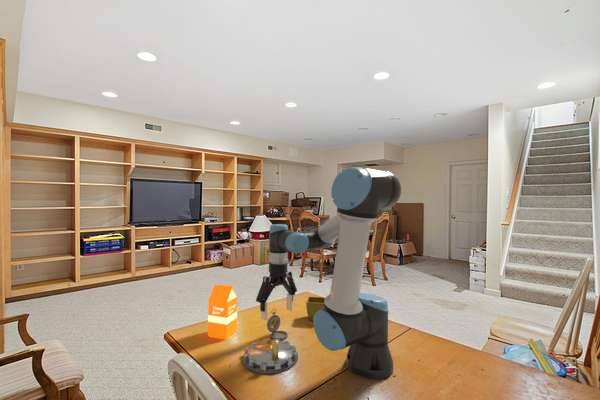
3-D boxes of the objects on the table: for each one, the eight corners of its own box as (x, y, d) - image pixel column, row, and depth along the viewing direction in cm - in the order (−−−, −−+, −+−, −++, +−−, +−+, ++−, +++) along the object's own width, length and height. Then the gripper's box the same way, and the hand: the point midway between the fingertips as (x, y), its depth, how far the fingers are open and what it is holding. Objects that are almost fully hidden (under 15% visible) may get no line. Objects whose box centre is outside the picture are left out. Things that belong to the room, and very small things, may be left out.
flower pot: (307, 314, 139) (308, 296, 139) (325, 315, 138) (326, 297, 138) (305, 322, 130) (305, 302, 130) (325, 323, 129) (325, 303, 129)
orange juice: (226, 340, 112) (227, 288, 113) (207, 336, 115) (208, 286, 116) (237, 331, 120) (237, 283, 120) (219, 328, 123) (219, 281, 123)
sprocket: (287, 339, 111) (287, 320, 111) (304, 364, 94) (304, 340, 94) (240, 347, 105) (240, 326, 105) (249, 375, 88) (249, 350, 88)
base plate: (309, 357, 100) (309, 356, 100) (266, 382, 86) (266, 380, 86) (273, 339, 113) (273, 338, 113) (231, 358, 99) (231, 356, 99)
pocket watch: (285, 341, 112) (285, 315, 112) (264, 339, 113) (264, 313, 113) (290, 332, 120) (290, 308, 120) (270, 330, 121) (271, 306, 121)
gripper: (293, 256, 129) (292, 304, 129) (247, 265, 111) (246, 320, 111) (305, 259, 123) (304, 308, 123) (259, 268, 105) (258, 326, 105)
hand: (277, 314), depth 117 cm, fingers open, 13 cm apart
